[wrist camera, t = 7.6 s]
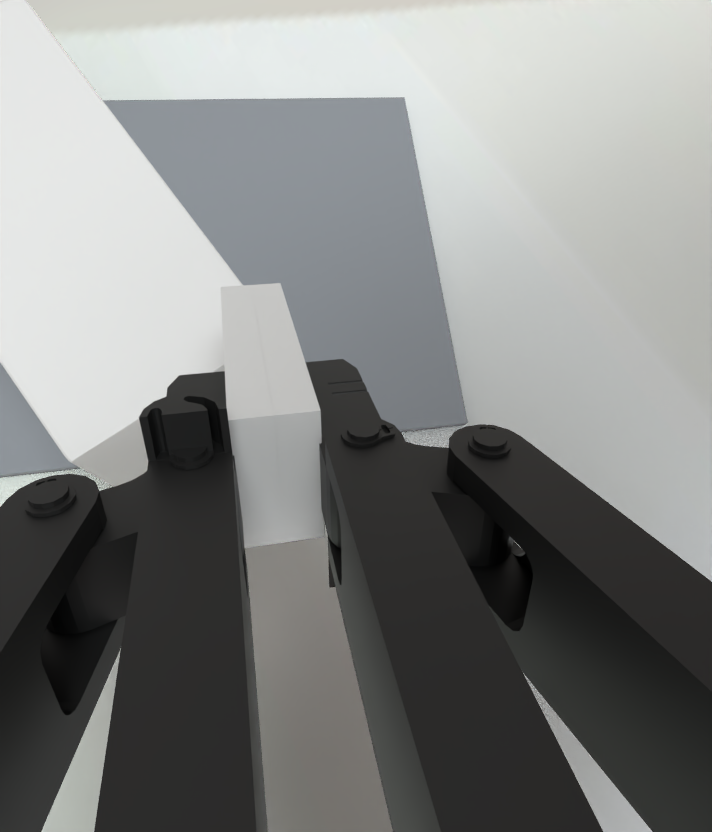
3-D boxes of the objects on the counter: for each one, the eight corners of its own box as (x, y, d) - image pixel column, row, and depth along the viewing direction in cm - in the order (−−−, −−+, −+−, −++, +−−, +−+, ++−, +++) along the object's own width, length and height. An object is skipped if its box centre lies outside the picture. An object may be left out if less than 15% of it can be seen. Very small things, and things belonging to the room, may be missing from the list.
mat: (402, 103, 31) (404, 97, 30) (464, 424, 27) (467, 422, 26) (-74, 108, 27) (-79, 102, 26) (-84, 486, 23) (-89, 485, 22)
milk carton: (127, 499, 23) (-121, 140, 26) (277, 398, 25) (34, 73, 27) (71, 469, 17) (-261, -17, 19) (281, 334, 18) (-42, -92, 21)
